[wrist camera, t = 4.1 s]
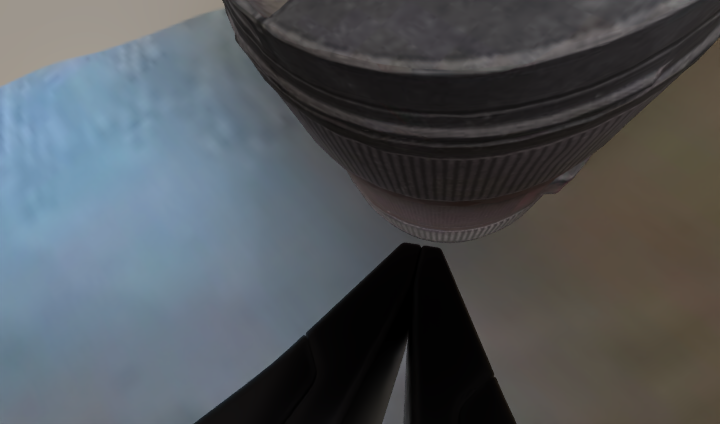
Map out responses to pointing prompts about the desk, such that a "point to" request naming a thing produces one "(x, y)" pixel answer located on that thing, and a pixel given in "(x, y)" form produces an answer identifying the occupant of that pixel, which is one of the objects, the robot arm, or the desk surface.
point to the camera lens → (468, 92)
